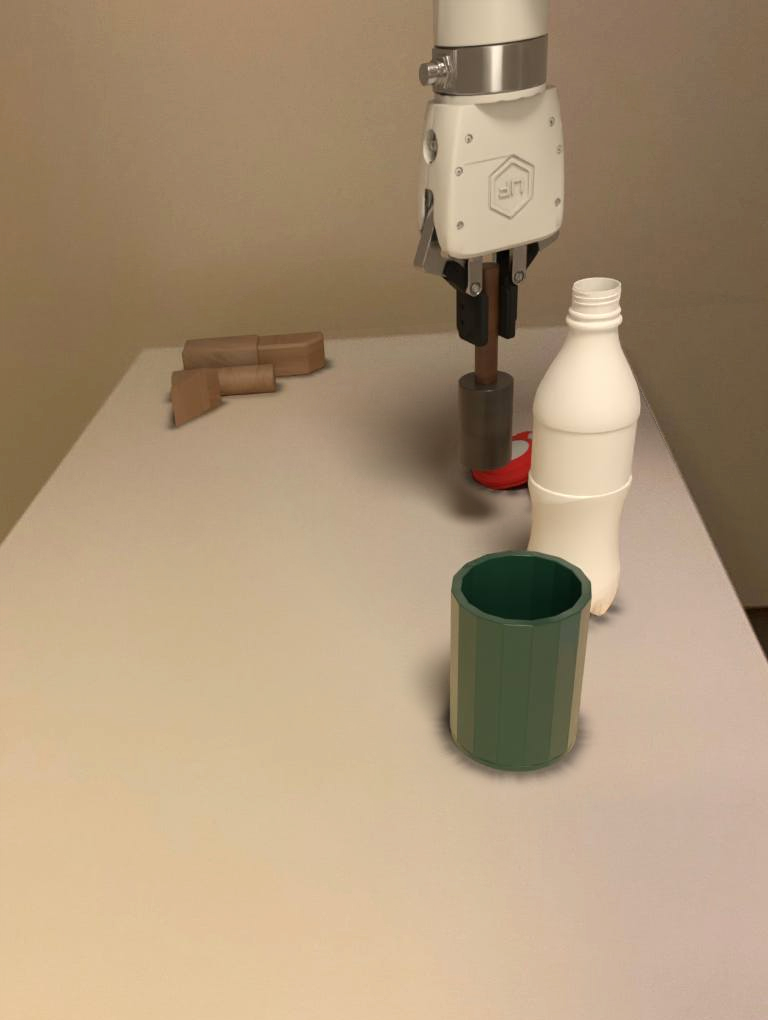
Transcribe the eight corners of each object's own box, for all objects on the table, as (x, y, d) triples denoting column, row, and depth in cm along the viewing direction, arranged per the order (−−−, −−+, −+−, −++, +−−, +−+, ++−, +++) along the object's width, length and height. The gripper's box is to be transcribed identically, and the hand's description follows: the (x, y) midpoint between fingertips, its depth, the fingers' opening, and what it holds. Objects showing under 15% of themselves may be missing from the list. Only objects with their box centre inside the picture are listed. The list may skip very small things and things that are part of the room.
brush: (520, 453, 84) (526, 259, 75) (497, 475, 82) (501, 276, 72) (473, 444, 87) (473, 255, 77) (449, 465, 84) (447, 271, 75)
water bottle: (539, 574, 82) (560, 264, 68) (626, 593, 79) (669, 271, 64) (507, 620, 77) (523, 297, 63) (599, 642, 74) (638, 307, 59)
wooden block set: (176, 331, 123) (322, 320, 121) (183, 375, 126) (325, 365, 125) (158, 383, 109) (322, 371, 108) (166, 431, 112) (326, 419, 111)
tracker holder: (448, 471, 96) (511, 414, 99) (463, 508, 98) (523, 451, 102) (549, 482, 87) (614, 419, 90) (563, 523, 89) (626, 460, 92)
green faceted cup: (594, 719, 67) (612, 569, 60) (544, 794, 62) (558, 640, 55) (483, 683, 72) (488, 539, 65) (428, 750, 66) (427, 602, 59)
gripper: (417, 94, 62) (424, 377, 73) (621, 55, 67) (599, 327, 77) (360, 86, 68) (375, 349, 79) (551, 50, 72) (540, 304, 83)
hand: (486, 336), depth 78 cm, fingers closed on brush
